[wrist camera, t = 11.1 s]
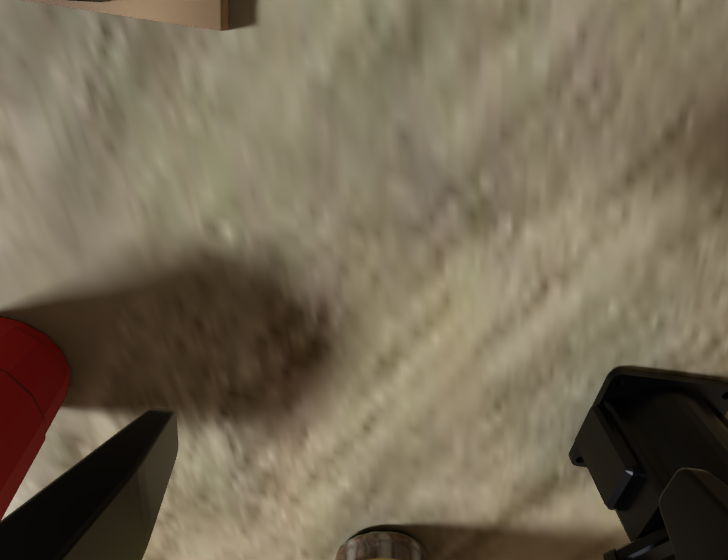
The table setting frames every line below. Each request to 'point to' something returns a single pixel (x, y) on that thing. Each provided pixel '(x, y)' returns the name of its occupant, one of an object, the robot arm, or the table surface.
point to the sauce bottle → (381, 547)
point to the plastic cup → (26, 399)
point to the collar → (158, 10)
